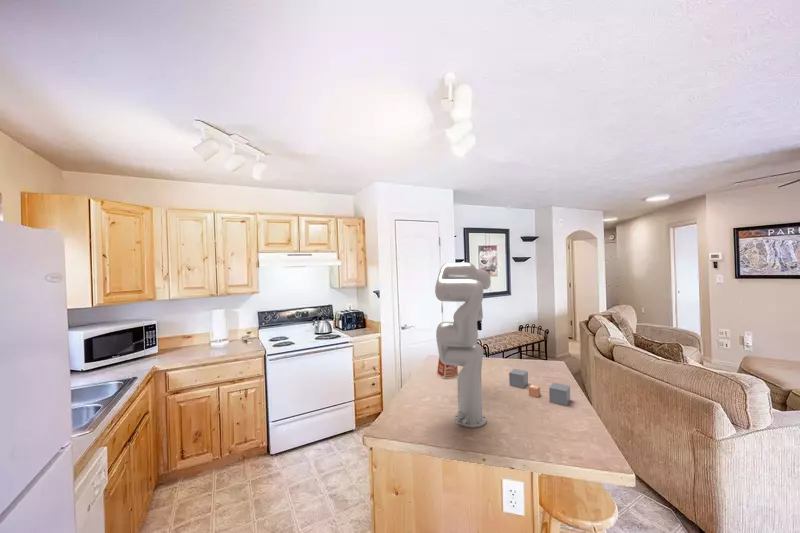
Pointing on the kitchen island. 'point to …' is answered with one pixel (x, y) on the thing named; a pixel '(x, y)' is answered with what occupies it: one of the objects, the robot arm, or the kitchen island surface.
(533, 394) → the letter cube
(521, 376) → the gray cube
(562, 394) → the grey block
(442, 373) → the milk carton
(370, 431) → the kitchen island surface
